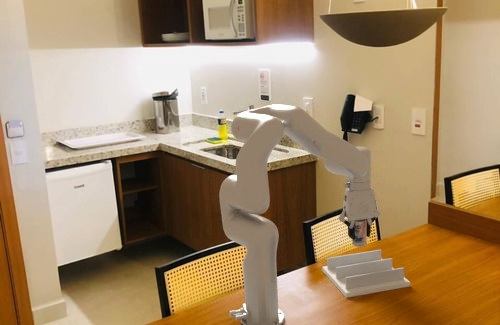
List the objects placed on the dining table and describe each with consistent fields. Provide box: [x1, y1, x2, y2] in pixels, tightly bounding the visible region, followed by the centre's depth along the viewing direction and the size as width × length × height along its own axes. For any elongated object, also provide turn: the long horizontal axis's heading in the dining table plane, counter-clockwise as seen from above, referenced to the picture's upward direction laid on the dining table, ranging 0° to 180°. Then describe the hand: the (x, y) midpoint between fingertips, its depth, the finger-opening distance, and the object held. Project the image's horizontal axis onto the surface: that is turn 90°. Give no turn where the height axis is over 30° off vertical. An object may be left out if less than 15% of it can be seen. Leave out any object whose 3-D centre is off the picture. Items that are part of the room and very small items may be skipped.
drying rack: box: [321, 249, 411, 299], centre depth 173 cm, size 22×20×6 cm
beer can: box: [351, 219, 368, 248], centre depth 173 cm, size 5×5×12 cm
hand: (359, 236), depth 174 cm, fingers closed on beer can, 4 cm apart
